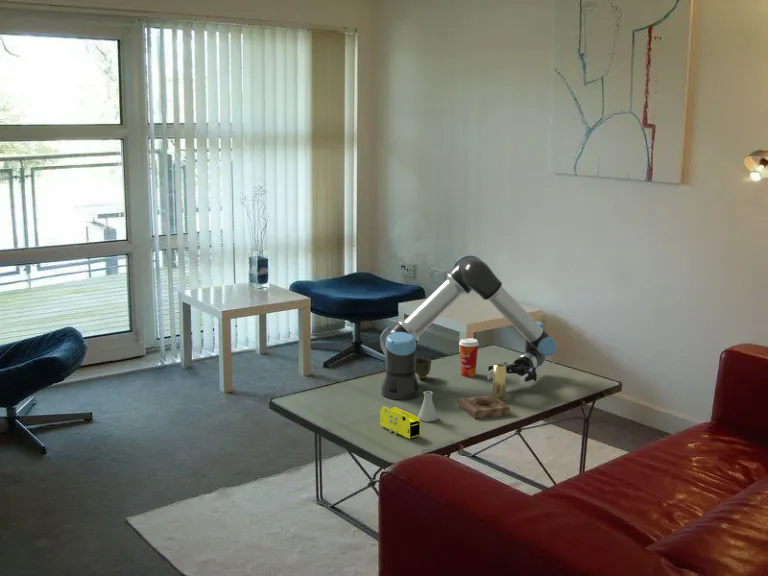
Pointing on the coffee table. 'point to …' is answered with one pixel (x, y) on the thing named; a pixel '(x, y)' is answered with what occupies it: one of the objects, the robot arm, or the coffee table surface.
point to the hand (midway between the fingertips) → (504, 378)
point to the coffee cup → (468, 356)
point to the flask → (427, 408)
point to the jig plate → (484, 407)
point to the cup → (422, 367)
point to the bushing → (499, 381)
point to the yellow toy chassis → (400, 422)
